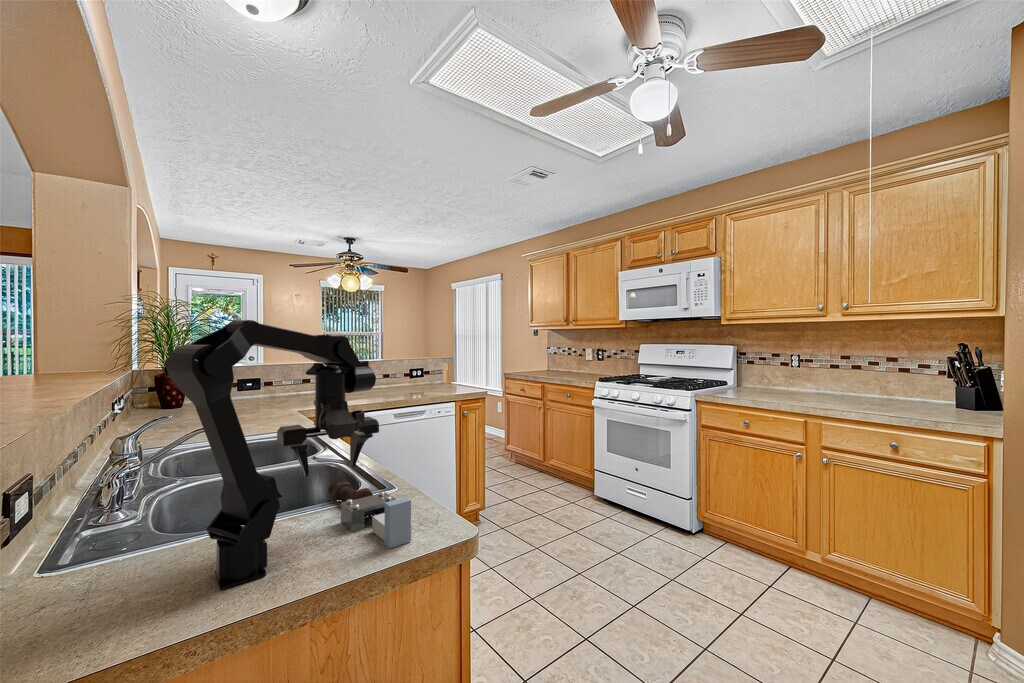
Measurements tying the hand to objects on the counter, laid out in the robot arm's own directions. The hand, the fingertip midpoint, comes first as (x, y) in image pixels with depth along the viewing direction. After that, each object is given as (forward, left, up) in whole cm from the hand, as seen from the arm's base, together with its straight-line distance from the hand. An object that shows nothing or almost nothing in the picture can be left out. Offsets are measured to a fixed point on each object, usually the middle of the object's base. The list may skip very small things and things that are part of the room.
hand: (330, 471), depth 89 cm
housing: (+8, -1, -12) cm, 14 cm away
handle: (+8, -11, -12) cm, 18 cm away
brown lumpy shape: (+8, +12, -12) cm, 19 cm away
